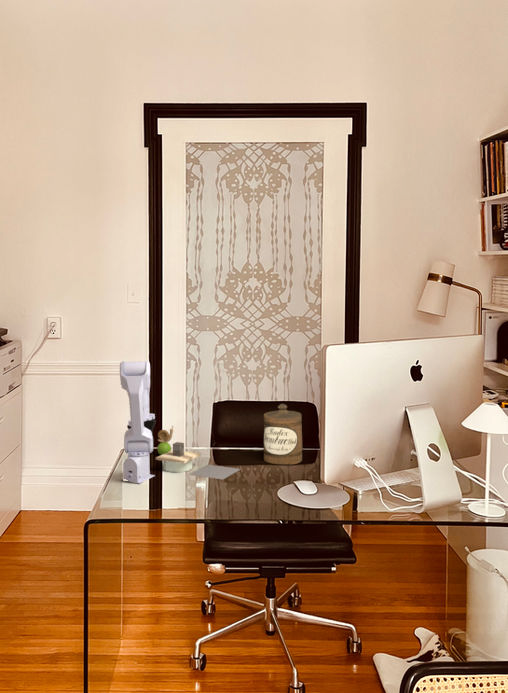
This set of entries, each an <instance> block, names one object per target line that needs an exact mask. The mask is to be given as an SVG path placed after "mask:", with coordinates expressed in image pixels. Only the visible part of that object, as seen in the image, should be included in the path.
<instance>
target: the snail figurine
mask: <svg viewBox="0 0 508 693" xmlns="http://www.w3.org/2000/svg"><path fill="white" fill-rule="evenodd" d="M173 433H174V425H172V426H171V428H170V429H169V431H168V430H165V429H161V430H159V431H158V432H157V438H158V439H157V441H158V442H159V444H158V445H157V452H158V454H159V456H160V455H163V454H165V453H167V452H169V451H172V446H171V444H170V443H169V442H170V441H171V440H172V437H173Z"/></svg>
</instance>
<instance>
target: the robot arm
mask: <svg viewBox="0 0 508 693" xmlns="http://www.w3.org/2000/svg"><path fill="white" fill-rule="evenodd" d="M119 378H120V385H121V388H122V389H123V390H125V391H126V393H127V396H128V401H129V404H128V405H129V416H130V420H128V424H127V426H126V427H127V430H125V432H124V437H123V440H124V441H123V442H124V443H123V449H124V452H125V454H127V458H126V459H125V460H124V462H123V464H122V466H123V467H122V468H123V471H122V472H123V479H126V480H128V481H130V482H129V483H133V484H142V483H144V482H146V481H147V480H149V479H151V478H153V477H156V475H155V474H151V470H150V468H151V467H150V465H151V464H150V454H151V453H152V452H153V451H154V436H153V432H154V429H155V427H156V424H157V420H156V419H155V418H156V416H155V415H156V414H155V413H150V393H151V392H150V390H151V364H150V361H149V360H146V361H145V360H144V361H143V360H141V361H121V362H120V364H119Z"/></svg>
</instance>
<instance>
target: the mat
mask: <svg viewBox="0 0 508 693" xmlns="http://www.w3.org/2000/svg"><path fill="white" fill-rule="evenodd" d="M240 470H241V468H236V467H230V466H229V467H228V466H221V465H213V464H212V465H211V464H206V465H204V466H202V467H200V468H198V469H196V470H195V471H193V472H190V473H188V476H195V477H202V478H209V479H217V480H222V481H223V480H225V479H227V478H228V477H230V476H231V475H233V474H235V473H237V472H238V471H240Z"/></svg>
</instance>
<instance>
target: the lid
mask: <svg viewBox="0 0 508 693" xmlns="http://www.w3.org/2000/svg"><path fill="white" fill-rule="evenodd" d="M201 455H202V454H201V452H194V451H186V450H185V443H184V442H180V441H179V442H178V441H176V442H174V443H172V449H171V451H169V452H167V453H165V454H163V455H160V454H159V456H156V457H155V460H156V461H162V462H163V461H170V462H177V463H186V462H188V461H190V460H192V461H193V460H194V459H197V458H199V457H200V456H201Z"/></svg>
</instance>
